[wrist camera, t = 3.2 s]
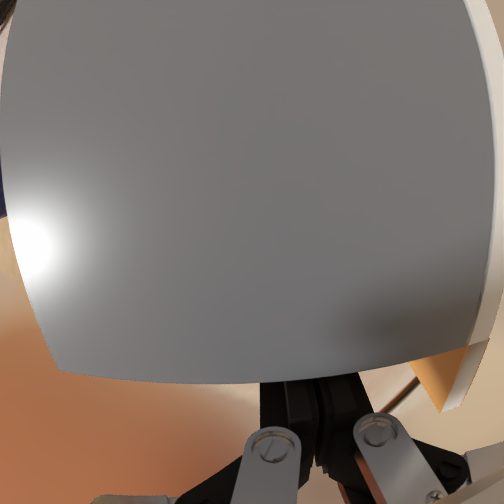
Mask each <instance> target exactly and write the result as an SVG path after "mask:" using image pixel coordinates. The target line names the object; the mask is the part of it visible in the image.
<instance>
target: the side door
mask: <svg viewBox="0 0 504 504" xmlns="http://www.w3.org/2000/svg"><path fill="white" fill-rule="evenodd" d="M463 2H464V4H465V7H466V10H467V12H468V15H469V18H470V21H471V24H472V27H473V31H474V34H475V37H476V41H477V44H478V48H479V52H480V56H481V60H482V65H483V69H484V74H485V79H486V85H487V91H488V97H489V104H490V112H491V121H492V132H493V148H494V195H493V212H492V223H491V233H490V241H489V248H488V255H487V261H486V267H485V272H484V277H483V282H482V287H481V291H480V296H479V300H478V304H477V308H476V311H475V315H474V319H473V322H472V326H471V329H470V332H469V335H468V339H467V342H466V345H465V346H464V347H461V348H458V349H455V350H451V351H448V352H444V353H441V354H437V355H434V356H430V357H426V358H422V359H418V360H414V361H410V362H408V363H409V364H410V366H411V367H412V369H413V371H414V372H415V374H416V375H417V377H418V379H419V380H420V382H421V383H422V385H423V387H424V388H425V390H426V392H427V393H428V395H429V397H430V398H431V400H432V402H433V403H434V405H435V406H436V408H437V410H438V412H439V413H441V412H444V411H446V410H449V409H452V408H454V407H457V406H459V405H461V404H462V402H463V400H464V398H465V396H466V394H467V392H468V390H469V387H470V385H471V383H472V381H473V379H474V377H475V374H476V372H477V370H478V367H479V365H480V363H481V360H482V357H483V355H484V352H485V350H486V347H487V344H488V342H489V339H490V338H489V336H490V333H491V330H492V328H493V324H494V321H495V317H496V315H497V311H498V308H499V304H500V300H501V297H502V293H503V289H504V57H503V53H502V49H501V45H500V42H499V39H498V36H497V32H496V29H495V26H494V23H493V20H492V17H491V15H490V12H489V10H488V7H487V4H486V2H485V0H463Z"/></svg>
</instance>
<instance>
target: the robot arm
mask: <svg viewBox="0 0 504 504" xmlns="http://www.w3.org/2000/svg"><path fill="white" fill-rule="evenodd" d="M314 456H315V462H316V466H317V467H318V466H322V469H323V474H325V473H328V474H329V477H330V478H332V479H333V480H335V481H337V485H338V488H339V491H340V493H341V496H342V498H343V500H344V503H345V504H504V441H503V442H500V443H497V444H494V445H490V446H486V447H483V448H480V449H475V450H471V451H467V452H465V454H464V455H459V454H456V453H454V452H451V451H447V450H444V449H441V448H438V447H435V446H432V445H429V444H426V443H424V442H421V441H418V440H415V439H413V438H411V437H410V436H409V434H408V433H407V431H406V430H405V428H404V427H403V425H402V424H401V422H400V421H399V420H398V419H397V418H395V417H394V416H392V415H390V414H386V413H374V411H373V408H372V406H371V403H370V401H369V398H368V396H367V393H366V391H365V389H364V386H363V384H362V381H361V379H360V376H359V374H358V372H354V373H348V374H341V375H334V376H327V377H319V378H311V379H301V380H291V381H279V382H264V383H260V430H258V431H257V432H254V433H253V434H252V435H251V436H250V437H249V438H248V440H247V442H246V444H245V448H244V452H243V455H242V456H241V457H239V458H238V459H236V460H235V461H234V462H232V463H230V464H229V465H228V466H226V467H225V468H223V469H222V470H220V471H219V472H217V473H216V474H214V475H213V476H211V477H210V478H208V479H207V480H205V481H204V482H202V483H201V484H199V485H197V486H196V487H194V488H192V489H191V490H189V491H187V492H186V493H184V494H183V495H182V496H180V497H169V498H168V497H167V496H166V495H162V496H127V495H126V496H125V495H100V496H98V497H96V498H94V500H93V501H92V502H91V503H90V504H296V502H297V493H298V490H299V489H300V488H301V487H302V486H303V485H304V484H305V483H306V482H307V481H308V480H309V474H310V468H311V467H312V464H313V458H314Z"/></svg>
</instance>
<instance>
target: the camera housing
mask: <svg viewBox="0 0 504 504" xmlns="http://www.w3.org/2000/svg"><path fill="white" fill-rule="evenodd" d="M0 157H1V171H2V181H3V189H4V197H5V204H6V210H7V216H8V221H9V227H10V231H11V236H12V241H13V245H14V249H15V253H16V257H17V261H18V265H19V268H20V272H21V275H22V279H23V282H24V285H25V288H26V291H27V294H28V297H29V300H30V303H31V306H32V309H33V311H34V314H35V317H36V319H37V322H38V324H39V327H40V329H41V331H42V334H43V336H44V339H45V341H46V343H47V345H48V348H49V350H50V352H51V354H52V356H53V359H54V360H55V363H56V365H57V367H58V369H59V371H64V372H70V373H76V374H82V375H88V376H96V377H104V378H112V379H120V380H131V381H142V382H157V383H176V384H244V383H264V382H279V381H291V380H301V379H311V378H319V377H327V376H334V375H341V374H348V373H354V372H360V371H366V370H371V369H377V368H382V367H387V366H392V365H396V364H401V363H405V362H410V361H414V360H418V359H422V358H426V357H430V356H434V355H437V354H441V353H444V352H448V351H451V350H455V349H458V348H461V347H464V346H465V345H466V342H467V339H468V335H469V332H470V329H471V326H472V322H473V319H474V315H475V311H476V308H477V304H478V300H479V296H480V291H481V287H482V282H483V277H484V272H485V267H486V261H487V255H488V248H489V241H490V233H491V223H492V212H493V195H494V148H493V132H492V121H491V112H490V104H489V97H488V91H487V85H486V79H485V74H484V69H483V65H482V60H481V56H480V52H479V48H478V44H477V41H476V37H475V34H474V31H473V27H472V24H471V21H470V18H469V15H468V12H467V10H466V7H465V4H464V2H463V0H17V3H16V7H15V11H14V14H13V18H12V22H11V27H10V31H9V36H8V41H7V46H6V52H5V59H4V66H3V74H2V84H1V97H0Z"/></svg>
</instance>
